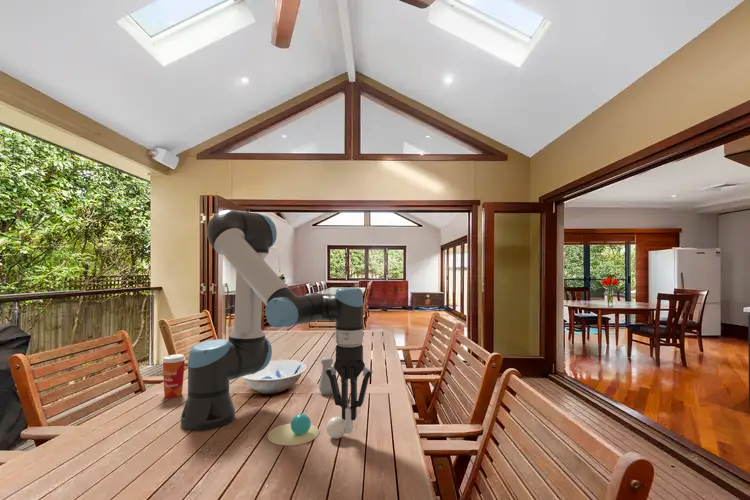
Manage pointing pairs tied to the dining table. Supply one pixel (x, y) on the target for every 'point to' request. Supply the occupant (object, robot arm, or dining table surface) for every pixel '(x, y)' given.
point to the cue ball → (336, 427)
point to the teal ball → (300, 424)
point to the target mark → (291, 435)
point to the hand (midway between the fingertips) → (349, 431)
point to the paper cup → (173, 375)
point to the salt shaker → (325, 376)
